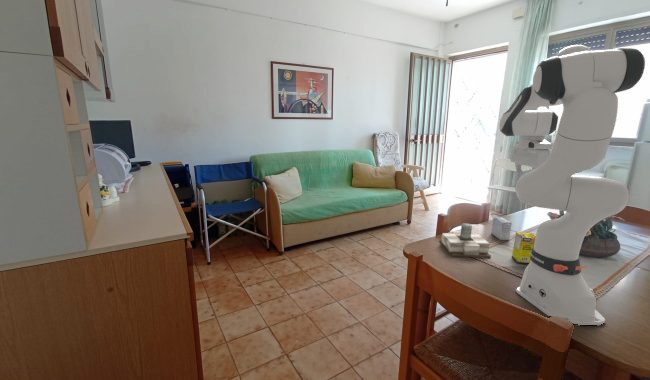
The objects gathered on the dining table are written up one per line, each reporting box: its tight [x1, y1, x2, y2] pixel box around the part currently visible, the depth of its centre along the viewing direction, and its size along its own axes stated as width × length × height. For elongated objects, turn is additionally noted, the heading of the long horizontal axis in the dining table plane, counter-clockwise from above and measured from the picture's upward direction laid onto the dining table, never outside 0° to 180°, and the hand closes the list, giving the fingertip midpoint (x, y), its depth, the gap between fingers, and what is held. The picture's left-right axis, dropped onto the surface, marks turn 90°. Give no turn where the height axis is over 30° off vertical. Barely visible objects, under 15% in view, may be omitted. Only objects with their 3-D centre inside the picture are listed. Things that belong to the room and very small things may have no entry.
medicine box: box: [491, 216, 513, 241], centre depth 140 cm, size 8×4×9 cm, turn 179°
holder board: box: [439, 230, 492, 259], centre depth 127 cm, size 16×16×5 cm
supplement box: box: [511, 231, 536, 265], centre depth 116 cm, size 6×6×11 cm
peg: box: [460, 222, 473, 241], centre depth 126 cm, size 4×4×10 cm
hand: (525, 175), depth 126 cm, fingers open, 8 cm apart
